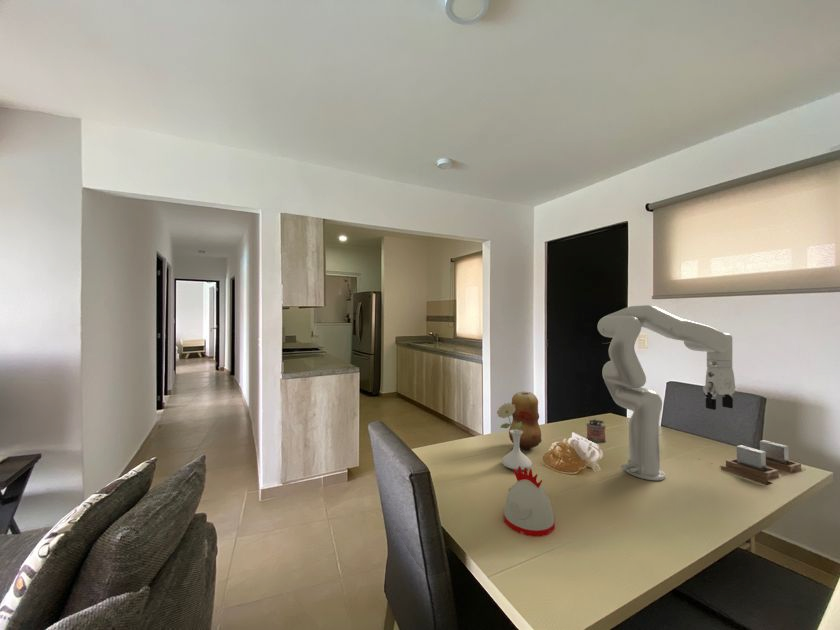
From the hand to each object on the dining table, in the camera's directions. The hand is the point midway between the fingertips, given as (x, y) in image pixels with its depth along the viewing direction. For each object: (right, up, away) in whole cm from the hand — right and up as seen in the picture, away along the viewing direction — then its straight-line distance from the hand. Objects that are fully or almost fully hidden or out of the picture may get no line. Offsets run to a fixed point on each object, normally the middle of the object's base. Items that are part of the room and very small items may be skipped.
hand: (719, 408), depth 130 cm
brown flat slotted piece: (+12, -23, -5) cm, 26 cm away
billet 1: (+5, -21, -7) cm, 23 cm away
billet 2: (+19, -21, -2) cm, 29 cm away
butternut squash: (-70, -24, +19) cm, 76 cm away
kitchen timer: (-86, -23, -35) cm, 96 cm away
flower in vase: (-80, -23, 0) cm, 84 cm away
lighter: (-33, -24, +28) cm, 50 cm away
